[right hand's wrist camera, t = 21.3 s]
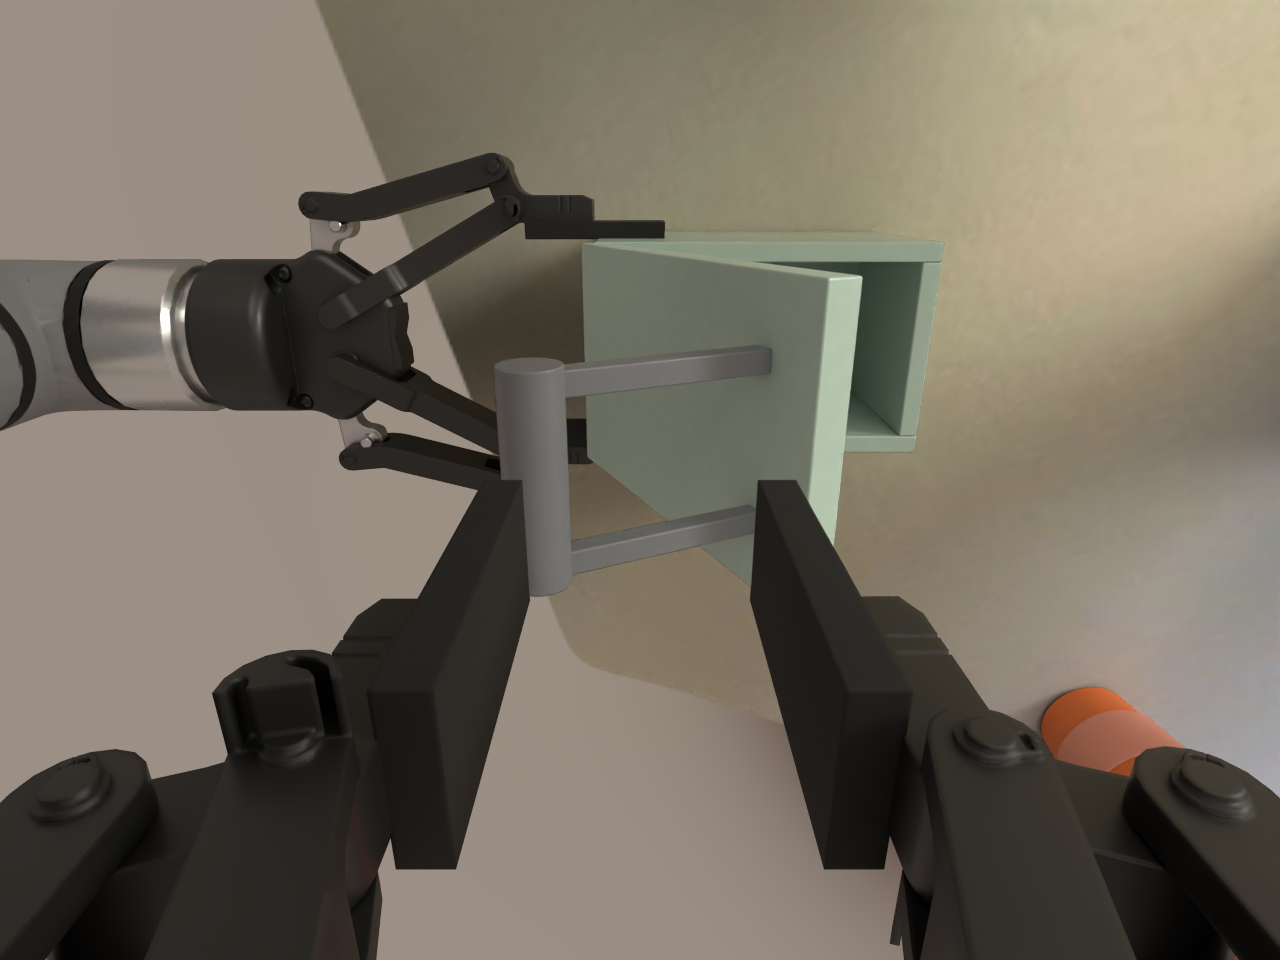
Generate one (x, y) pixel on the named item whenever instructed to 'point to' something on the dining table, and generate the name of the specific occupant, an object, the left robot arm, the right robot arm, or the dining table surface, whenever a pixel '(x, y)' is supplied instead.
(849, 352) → the lid
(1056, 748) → the cup with straw
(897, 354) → the chest
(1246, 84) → the dining table surface
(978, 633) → the dining table surface
